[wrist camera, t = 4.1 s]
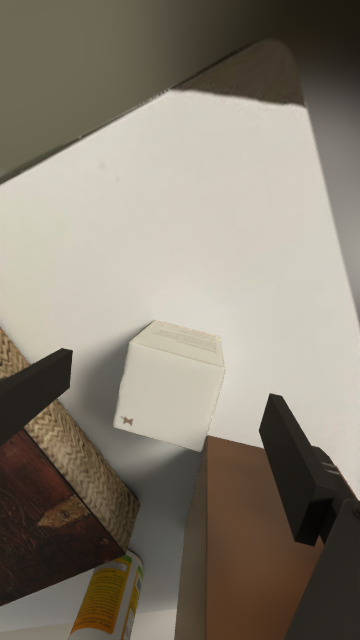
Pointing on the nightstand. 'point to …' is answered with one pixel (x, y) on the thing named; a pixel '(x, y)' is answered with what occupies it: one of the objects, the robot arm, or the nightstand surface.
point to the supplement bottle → (110, 601)
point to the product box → (170, 384)
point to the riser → (239, 551)
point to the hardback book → (55, 500)
